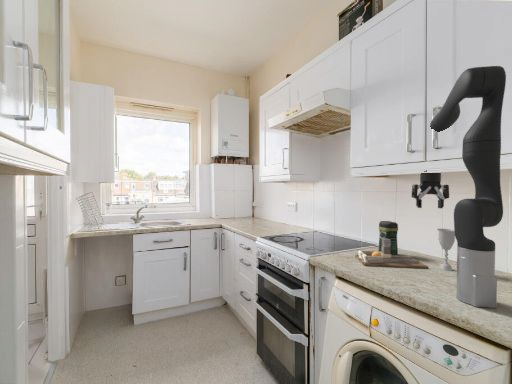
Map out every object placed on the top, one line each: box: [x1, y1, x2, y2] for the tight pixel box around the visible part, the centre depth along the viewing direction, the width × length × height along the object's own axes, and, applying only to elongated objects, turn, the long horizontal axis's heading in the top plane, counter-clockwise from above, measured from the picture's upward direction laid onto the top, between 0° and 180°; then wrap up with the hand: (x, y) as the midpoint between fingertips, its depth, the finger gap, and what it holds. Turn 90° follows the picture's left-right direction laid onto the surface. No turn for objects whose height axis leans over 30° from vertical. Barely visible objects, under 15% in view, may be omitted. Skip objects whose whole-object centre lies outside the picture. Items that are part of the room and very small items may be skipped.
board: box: [355, 249, 429, 270], centre depth 124 cm, size 16×28×4 cm, turn 83°
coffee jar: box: [377, 220, 399, 256], centre depth 140 cm, size 10×8×19 cm
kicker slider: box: [378, 238, 391, 259], centre depth 124 cm, size 5×4×10 cm
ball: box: [372, 251, 381, 256], centre depth 124 cm, size 4×4×4 cm
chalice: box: [437, 228, 456, 272], centre depth 114 cm, size 7×7×18 cm
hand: (429, 208), depth 110 cm, fingers open, 8 cm apart
